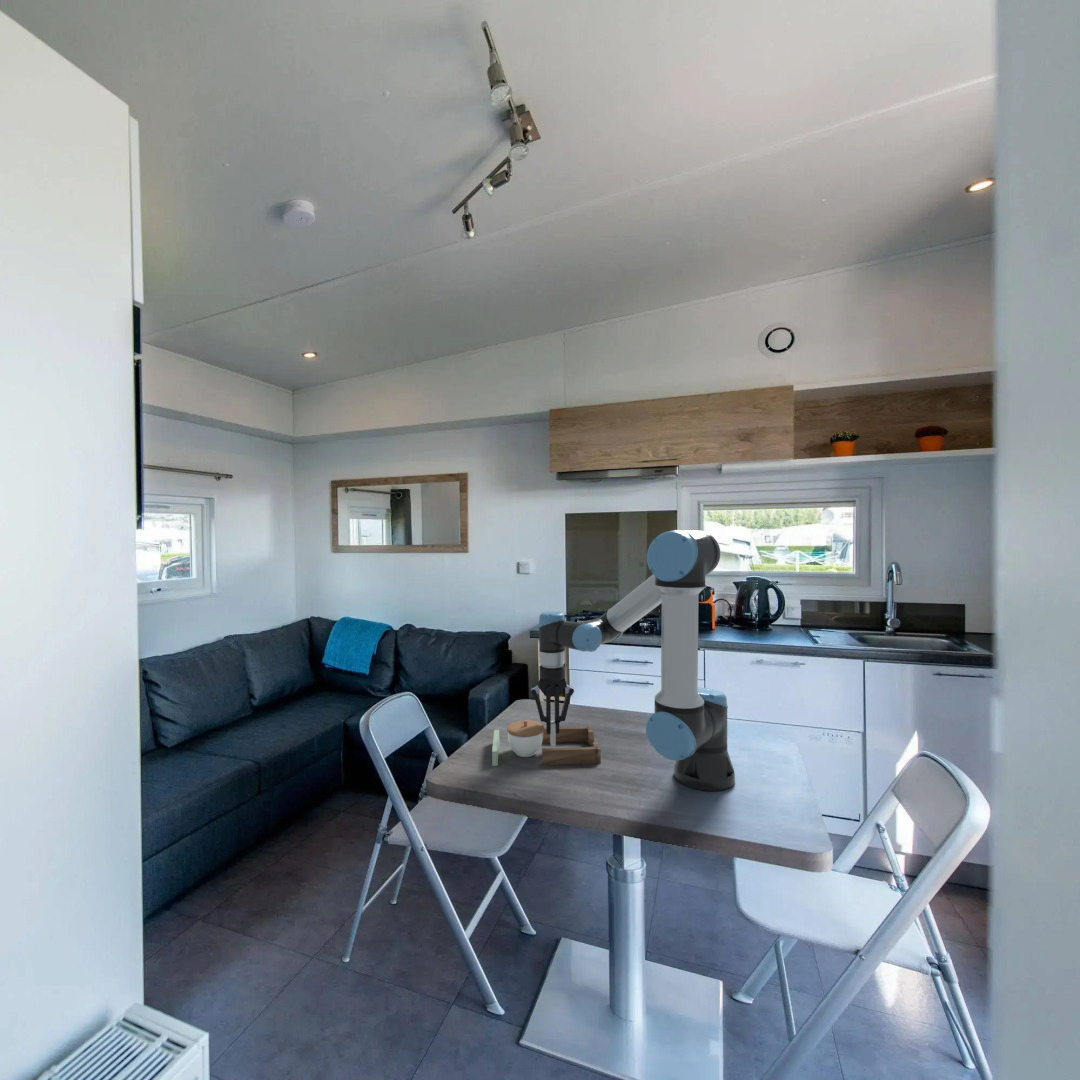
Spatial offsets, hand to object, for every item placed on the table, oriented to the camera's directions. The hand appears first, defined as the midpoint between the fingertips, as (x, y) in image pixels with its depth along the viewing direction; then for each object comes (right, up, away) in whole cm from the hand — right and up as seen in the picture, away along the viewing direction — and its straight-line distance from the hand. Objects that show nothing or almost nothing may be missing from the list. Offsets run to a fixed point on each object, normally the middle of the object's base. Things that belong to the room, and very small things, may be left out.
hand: (553, 744), depth 153 cm
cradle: (+4, -2, 0) cm, 5 cm away
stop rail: (-17, -2, -1) cm, 17 cm away
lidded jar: (-8, -2, -1) cm, 8 cm away
